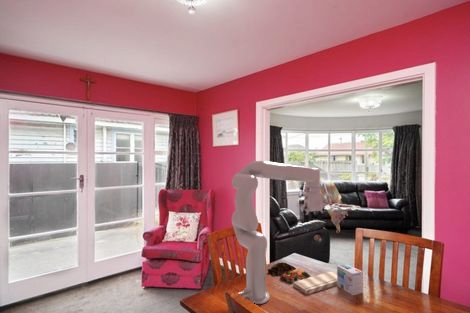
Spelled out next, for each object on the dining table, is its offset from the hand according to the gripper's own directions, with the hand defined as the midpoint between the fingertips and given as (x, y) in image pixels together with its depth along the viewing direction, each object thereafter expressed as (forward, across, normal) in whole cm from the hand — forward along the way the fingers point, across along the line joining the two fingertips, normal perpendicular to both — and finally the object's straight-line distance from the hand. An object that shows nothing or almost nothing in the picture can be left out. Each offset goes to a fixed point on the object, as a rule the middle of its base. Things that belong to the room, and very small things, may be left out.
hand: (313, 220), depth 143 cm
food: (+33, -8, +13) cm, 37 cm away
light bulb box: (+32, +8, -17) cm, 37 cm away
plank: (+32, -1, -5) cm, 33 cm away
